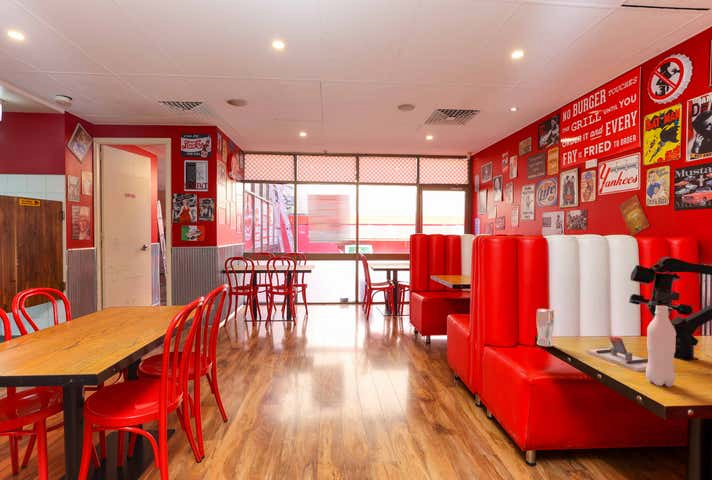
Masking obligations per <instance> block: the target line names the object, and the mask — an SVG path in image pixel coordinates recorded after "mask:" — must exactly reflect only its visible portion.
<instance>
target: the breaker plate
mask: <svg viewBox="0 0 712 480" xmlns="http://www.w3.org/2000/svg"><path fill="white" fill-rule="evenodd" d="M586 354H588V355H591V356H593V357H596V356H597V357H596V358H599V359H602V360H606V361H608V362H610V363H613V364H615V363H616V364H617V365H618V366H621V367H624V368H626V369H629V370H633V371H635V372H641V371H646V368H647V365H648V358H642V357H639V356H635V355H634V354H633V352H628V351H627V353H626V354H625V355H624V354H621V353H618V352H615V350H614V347H608V348H595V349H593V348H592V349H586Z"/></svg>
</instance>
